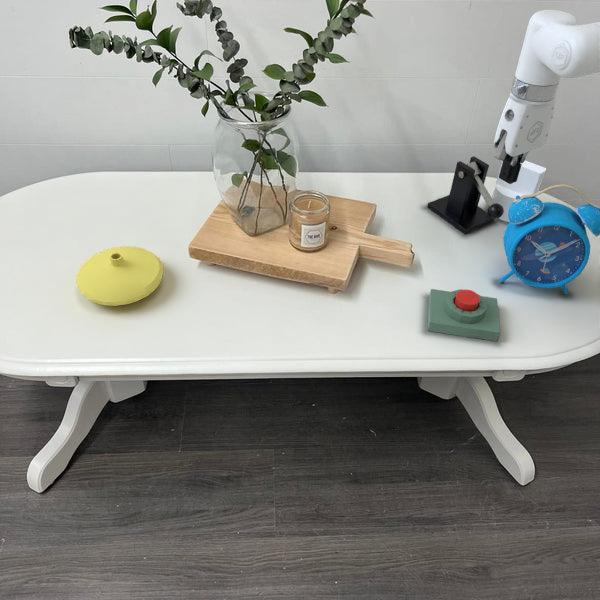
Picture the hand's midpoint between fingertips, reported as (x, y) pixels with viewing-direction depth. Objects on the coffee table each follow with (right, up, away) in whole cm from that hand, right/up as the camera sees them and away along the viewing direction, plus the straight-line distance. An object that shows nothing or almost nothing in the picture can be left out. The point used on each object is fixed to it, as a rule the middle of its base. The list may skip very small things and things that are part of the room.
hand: (507, 179), depth 114 cm
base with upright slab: (+6, -4, +16) cm, 18 cm away
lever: (-3, -2, +8) cm, 9 cm away
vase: (-75, -21, -5) cm, 78 cm away
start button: (-12, -25, -12) cm, 30 cm away
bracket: (-5, -5, +15) cm, 16 cm away
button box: (-12, -27, -10) cm, 31 cm away
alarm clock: (+5, -20, -1) cm, 21 cm away
